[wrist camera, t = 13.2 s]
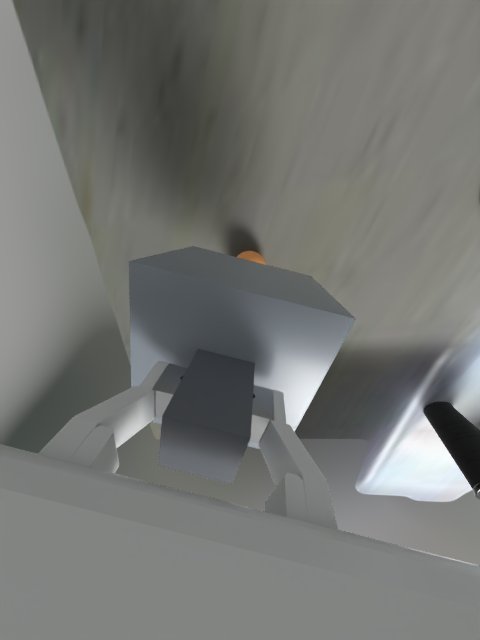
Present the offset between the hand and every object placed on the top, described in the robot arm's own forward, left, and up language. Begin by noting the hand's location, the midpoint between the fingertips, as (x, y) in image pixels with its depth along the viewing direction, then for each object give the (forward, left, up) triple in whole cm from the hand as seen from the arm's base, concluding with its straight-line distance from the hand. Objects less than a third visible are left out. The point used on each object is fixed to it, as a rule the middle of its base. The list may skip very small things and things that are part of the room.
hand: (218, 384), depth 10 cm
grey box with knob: (0, +1, -10) cm, 10 cm away
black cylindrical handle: (-44, +19, -24) cm, 54 cm away
